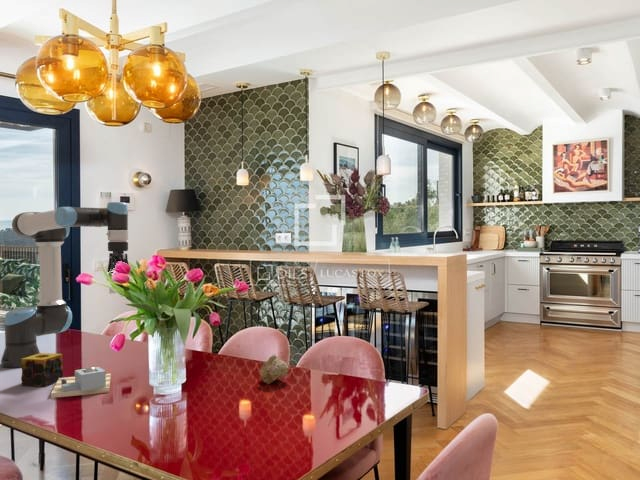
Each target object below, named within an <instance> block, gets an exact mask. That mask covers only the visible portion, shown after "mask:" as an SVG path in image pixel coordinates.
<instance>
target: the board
mask: <svg viewBox="0 0 640 480" xmlns="http://www.w3.org/2000/svg"><path fill="white" fill-rule="evenodd" d="M63 379H66V380H67V383H73V382H75V376H68V377H62V378H59V379H58V381H57V382H56V383H55V385H54V387H53V388H52V391H51V393H50V399H56V398H64V397H74V396H85V395H94V394H104V393H110V386H111V380H112V373H106V387H101V388H96V389H90V390H85V391H81V390H80V389H79V390H74V391H68V392H63V391H62V388H61V380H63Z"/></svg>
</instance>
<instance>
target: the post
mask: <svg viewBox="0 0 640 480" xmlns="http://www.w3.org/2000/svg"><path fill="white" fill-rule="evenodd" d="M95 367H96V366H86V368H85V369H86V373H89V372H95Z"/></svg>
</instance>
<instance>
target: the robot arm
mask: <svg viewBox="0 0 640 480" xmlns="http://www.w3.org/2000/svg"><path fill="white" fill-rule="evenodd" d="M106 205H107V206H106V207H78V206H59V207H57V209H53V210H47V211H41V212H40V211H39V212H38V211H35V212H33V211H25V212H20V213H18V214H17V215H16V216H14V218H13V219H12V221H11V228H12V231H13V232H14V233H15V234H16V235H17V236H18V237H21V238H22V239H29V240H30V239H31V240H33V239H34V244H36V246H38V249H39V251H38V252H39V254H38V255H39V259H38V260H39V283H40V284H39V286H40V287H39V291H40V294H39V295H40V301H39V302H38V303H37V304H36V307H35V306H24V307H19V308H18V307H17V308H15V309H14V308H13V309H11V310H9V311H7V312H6V313H5V315H4V316H5V317H4V324H3V325H4V339H5V341H4V342H5V344H4V345H5V348H4V349H3V353H2V356H1V359H0V367H3V368H11V369H12V368H13V369H14V368H22V360H21V359H22V358H26V357H29V356H32V355H36V354H39V353H41V352H40V349H39V347H38V343H37V337H42V336H47V335H52V334H54V335H55V334H56V335H57V334H59V333H62V332H65V331H68V329H69V327H70V326H71V324H72V321H73V312H72V310H71V308H70V306H68V305H67V302H66V301H65V300H64V299H63V289H62V288H63V286H62V285H63V279H62V253H61V252H62V249H61V246H62V245H63V244H64V243H65V239H66V238H68V237H69V235H70V231H71V230H70V228H71V227H72V228H74V227H83V228H85V227H87V228H88V227H95V228H101V227H107V232H106V236H107V240H108V242H107V251H108V252H109V254H108V255H109V256H108V257H109V258H108V265H107V270H106V273H107V272H109V271H110V269H113V268H115V265H116V263H117V262H118V261H122V262H125V263H127V264H128V265H129V261H128V253H125V252H128V251H129V242H128V240H129V229H128V227H129V226H128V225H129V222H128V221H129V217H128V216H129V214H128V213H129V212H128V204H127V203H126V202H123V201H121V202H120V201H110V202H108V203H107V204H106ZM111 273H113V272H111ZM108 289H109V290H108V291H109V292H108V293H109V294H111V295H112V294H117V292H118V291H117V292H115V291H114V290H112V289H111V288H109V287H108ZM120 297H123V296H122V295H121V294H120Z"/></svg>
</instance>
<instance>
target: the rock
mask: <svg viewBox="0 0 640 480" xmlns="http://www.w3.org/2000/svg"><path fill="white" fill-rule="evenodd" d="M290 369H291V367H290V366H289V365H288V363H287V362H286V361H284V360H283V358H280V357H279V356H278V355H276V354H275V353H273V354H272V355H271V356H270V357H269V358H268V360H267V361H266V362H264V363H262V365H261V368H260V371H259V375H260V377H261V380H262V381H263V382H264V383H266V384H268V385H270V384H271V383H273V382H274V381H276V380H279V379H280V378H281V379H283V378H285V377H286V376H288V374H287V373H288V371H289V370H290Z"/></svg>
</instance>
